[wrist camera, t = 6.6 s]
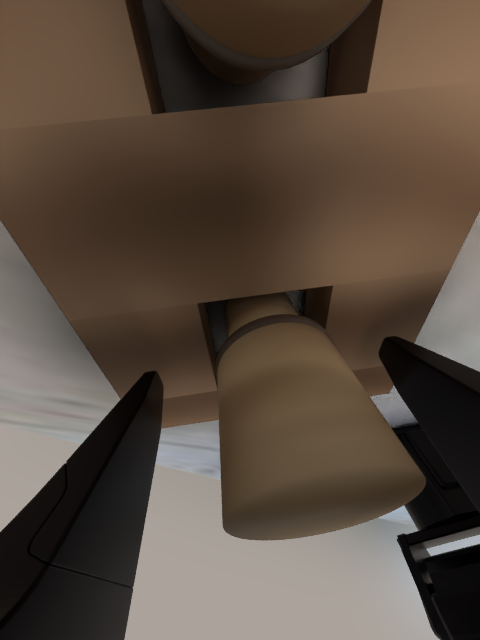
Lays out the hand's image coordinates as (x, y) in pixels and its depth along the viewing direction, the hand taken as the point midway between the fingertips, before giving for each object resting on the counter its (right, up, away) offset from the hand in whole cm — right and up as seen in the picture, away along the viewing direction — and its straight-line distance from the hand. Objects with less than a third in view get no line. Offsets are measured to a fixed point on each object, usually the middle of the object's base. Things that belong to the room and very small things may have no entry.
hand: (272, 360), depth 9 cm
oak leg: (0, +2, +3) cm, 3 cm away
